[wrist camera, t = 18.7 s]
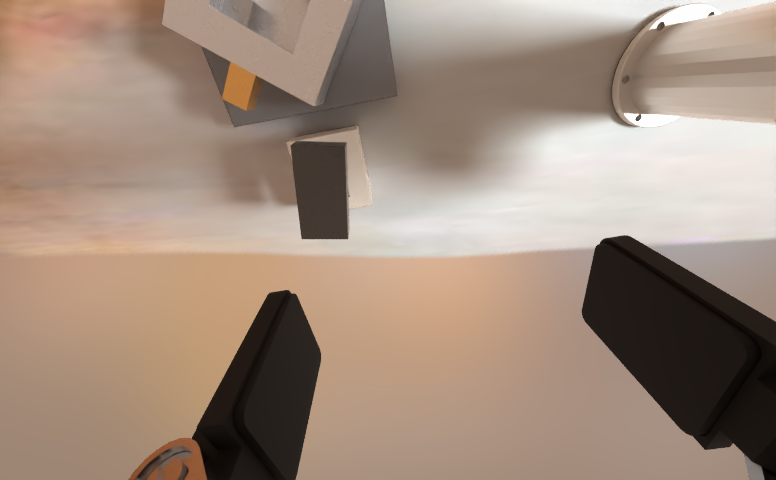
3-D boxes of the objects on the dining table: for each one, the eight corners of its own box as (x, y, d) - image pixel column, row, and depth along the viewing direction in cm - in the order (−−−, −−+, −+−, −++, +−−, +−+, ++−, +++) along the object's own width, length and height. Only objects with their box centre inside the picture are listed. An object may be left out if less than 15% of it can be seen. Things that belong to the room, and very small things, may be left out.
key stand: (357, 125, 35) (356, 129, 31) (371, 193, 39) (372, 204, 35) (295, 137, 35) (285, 143, 31) (315, 203, 39) (310, 216, 35)
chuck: (235, -129, 22) (192, -200, 16) (373, -29, 25) (375, -62, 20) (196, 70, 27) (156, 65, 22) (313, 130, 31) (301, 138, 25)
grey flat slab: (362, -129, 25) (361, -165, 21) (393, 95, 33) (397, 95, 30) (167, -87, 25) (135, -117, 22) (248, 123, 34) (234, 127, 30)
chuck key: (351, 130, 34) (344, 146, 24) (353, 200, 38) (348, 239, 28) (313, 129, 34) (290, 145, 24) (319, 199, 38) (301, 239, 28)
